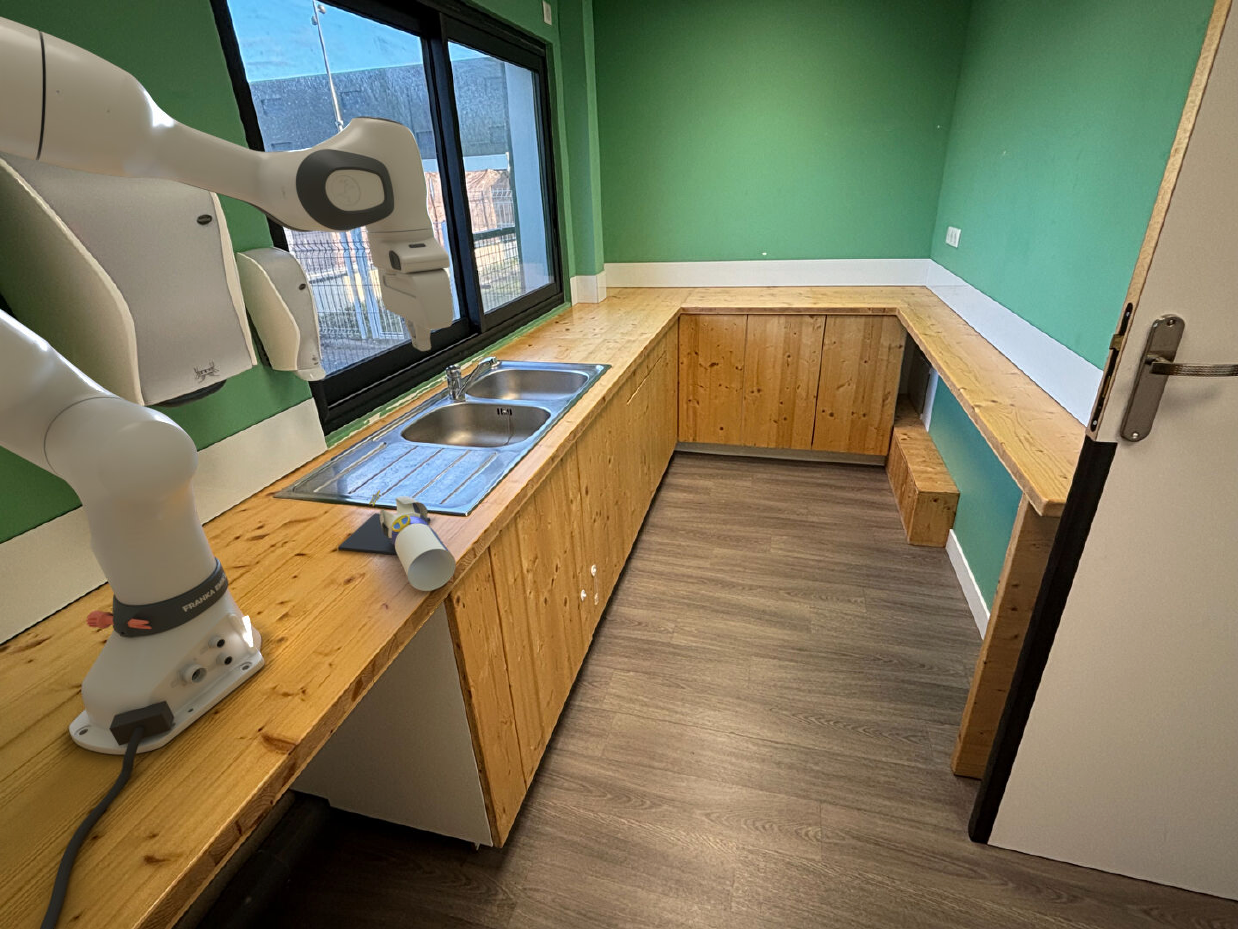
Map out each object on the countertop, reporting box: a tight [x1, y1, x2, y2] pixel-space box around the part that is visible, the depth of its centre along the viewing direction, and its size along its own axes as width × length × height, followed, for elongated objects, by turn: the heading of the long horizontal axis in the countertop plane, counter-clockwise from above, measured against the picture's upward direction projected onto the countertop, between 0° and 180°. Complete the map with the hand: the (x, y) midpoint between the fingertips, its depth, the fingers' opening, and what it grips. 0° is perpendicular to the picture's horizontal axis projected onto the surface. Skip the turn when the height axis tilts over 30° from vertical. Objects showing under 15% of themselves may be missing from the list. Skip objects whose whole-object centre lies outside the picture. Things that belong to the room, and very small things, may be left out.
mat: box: [337, 513, 431, 556], centre depth 113 cm, size 12×12×1 cm
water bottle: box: [368, 489, 457, 592], centre depth 105 cm, size 8×9×25 cm
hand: (422, 348), depth 90 cm, fingers closed
